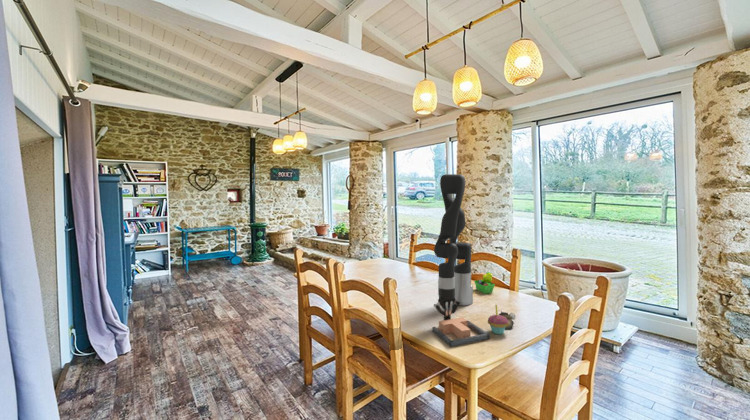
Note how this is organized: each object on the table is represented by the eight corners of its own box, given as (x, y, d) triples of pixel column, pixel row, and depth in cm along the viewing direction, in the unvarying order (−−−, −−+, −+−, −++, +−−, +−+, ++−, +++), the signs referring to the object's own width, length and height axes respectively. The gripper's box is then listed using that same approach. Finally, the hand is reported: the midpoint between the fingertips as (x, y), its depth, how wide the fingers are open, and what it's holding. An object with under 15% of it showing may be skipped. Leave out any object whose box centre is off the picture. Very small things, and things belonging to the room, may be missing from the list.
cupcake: (484, 328, 143) (484, 301, 143) (502, 326, 144) (502, 300, 143) (493, 336, 135) (493, 309, 134) (512, 335, 136) (512, 307, 135)
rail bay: (468, 324, 147) (467, 320, 147) (489, 339, 133) (489, 334, 133) (432, 331, 142) (432, 326, 142) (451, 347, 127) (450, 342, 127)
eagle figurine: (495, 317, 152) (492, 321, 144) (504, 306, 150) (502, 308, 142) (510, 329, 148) (507, 333, 140) (519, 317, 147) (517, 321, 139)
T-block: (462, 325, 147) (462, 317, 146) (478, 337, 135) (478, 327, 135) (439, 330, 143) (438, 321, 143) (453, 342, 131) (453, 332, 131)
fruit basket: (473, 288, 199) (473, 270, 198) (486, 287, 201) (486, 269, 200) (484, 294, 188) (483, 275, 187) (497, 293, 190) (497, 274, 189)
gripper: (454, 282, 153) (454, 317, 154) (429, 285, 148) (430, 322, 149) (463, 286, 146) (464, 323, 147) (438, 290, 141) (438, 328, 142)
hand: (447, 322), depth 148 cm, fingers closed
